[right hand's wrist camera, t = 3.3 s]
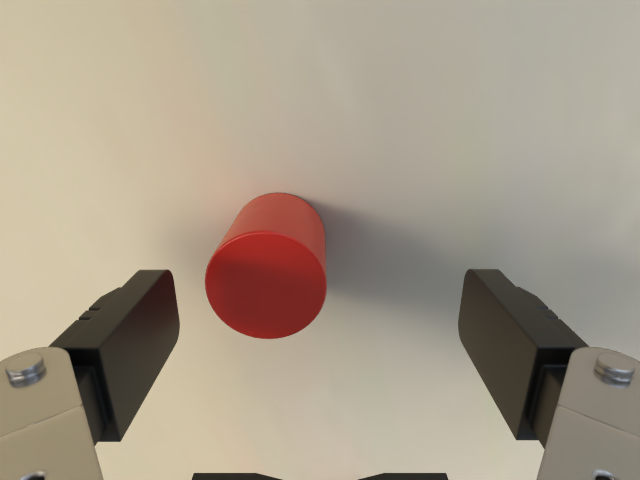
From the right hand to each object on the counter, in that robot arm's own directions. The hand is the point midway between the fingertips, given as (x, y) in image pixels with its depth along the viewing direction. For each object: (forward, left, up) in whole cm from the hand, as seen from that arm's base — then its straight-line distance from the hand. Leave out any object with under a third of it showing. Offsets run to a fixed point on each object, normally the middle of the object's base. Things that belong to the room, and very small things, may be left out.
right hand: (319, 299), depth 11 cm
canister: (-2, -1, -6) cm, 6 cm away
